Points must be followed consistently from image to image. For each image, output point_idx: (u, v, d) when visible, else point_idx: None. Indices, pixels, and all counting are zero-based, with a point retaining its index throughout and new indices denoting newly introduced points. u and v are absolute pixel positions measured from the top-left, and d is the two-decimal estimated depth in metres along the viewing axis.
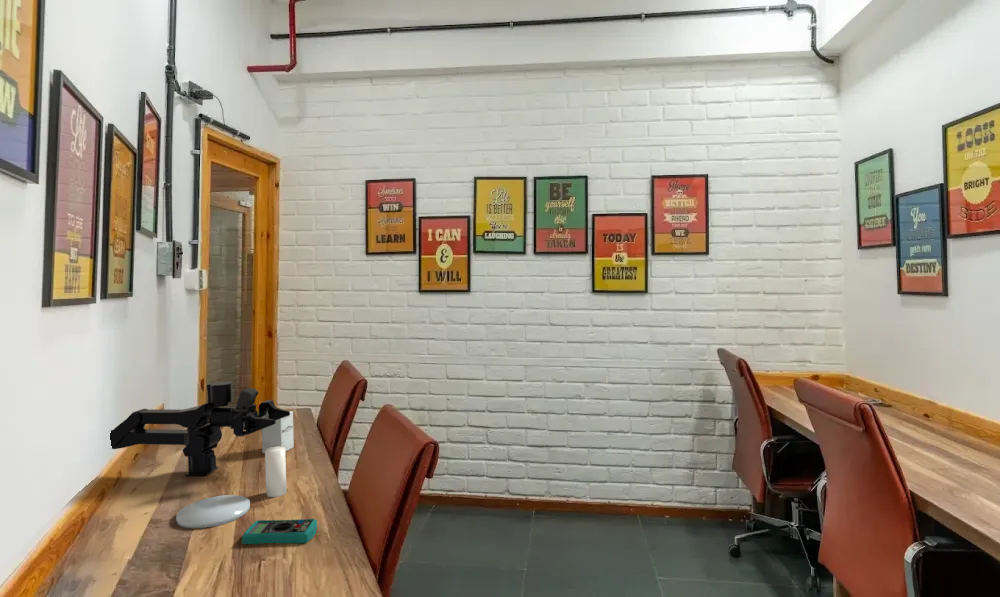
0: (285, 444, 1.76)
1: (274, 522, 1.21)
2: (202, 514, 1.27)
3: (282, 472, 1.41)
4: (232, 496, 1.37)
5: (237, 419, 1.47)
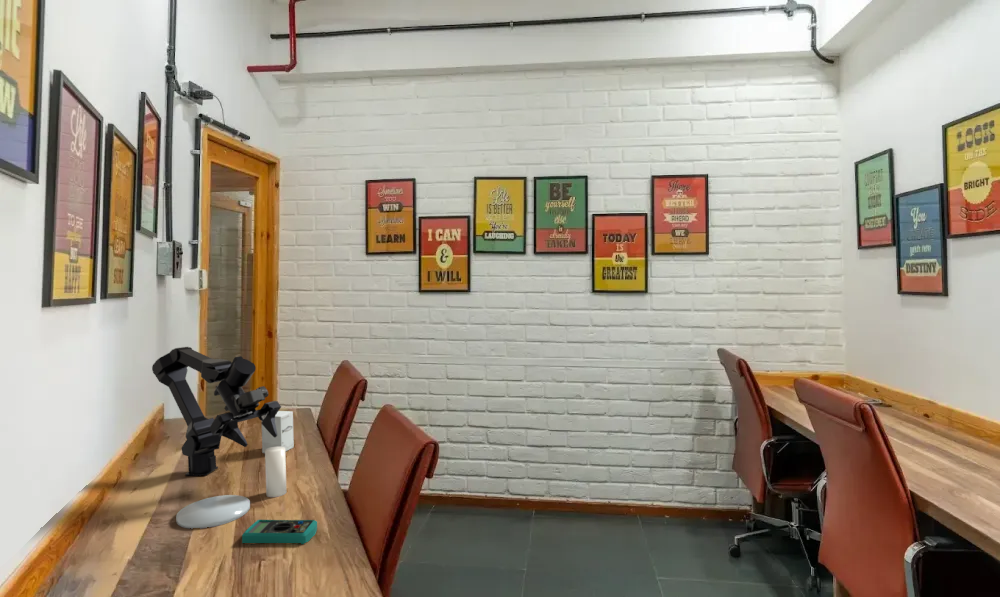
0: (285, 444, 1.76)
1: (275, 522, 1.21)
2: (202, 514, 1.27)
3: (282, 472, 1.41)
4: (232, 496, 1.37)
5: (217, 420, 1.38)
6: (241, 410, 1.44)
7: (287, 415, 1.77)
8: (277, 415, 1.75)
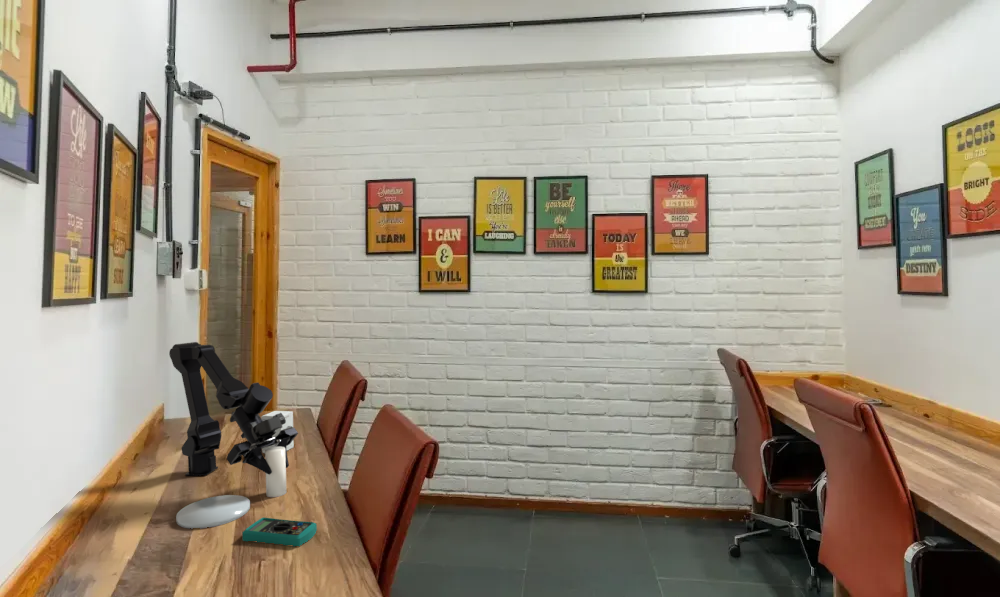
0: None
1: (277, 521, 1.21)
2: (202, 514, 1.27)
3: (282, 472, 1.41)
4: (232, 496, 1.37)
5: (235, 450, 1.35)
6: (258, 438, 1.41)
7: (287, 415, 1.77)
8: None
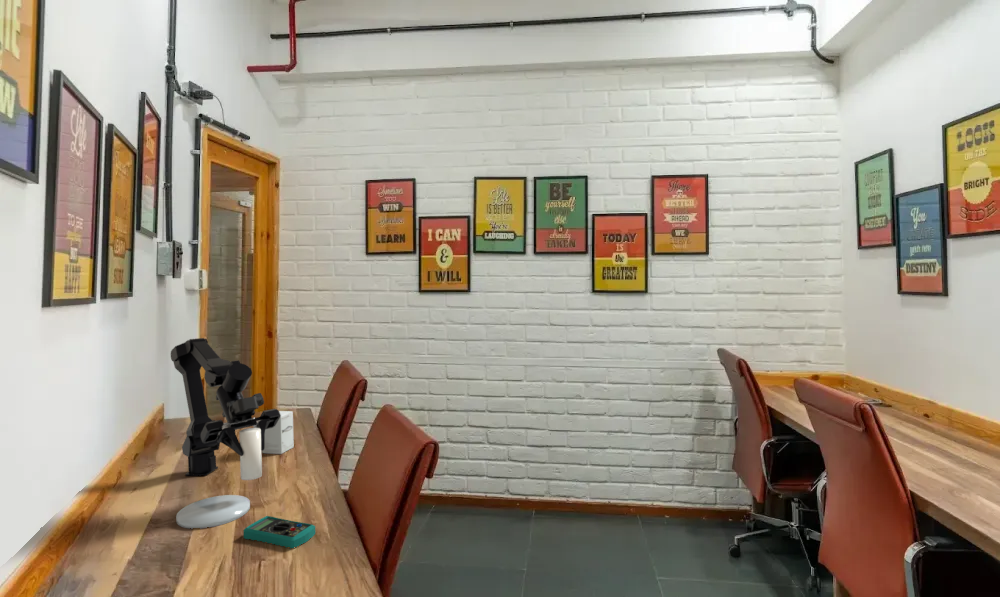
0: (285, 444, 1.76)
1: (279, 521, 1.21)
2: (202, 514, 1.27)
3: (256, 455, 1.35)
4: (232, 496, 1.37)
5: (205, 428, 1.31)
6: (234, 418, 1.36)
7: (287, 415, 1.77)
8: None
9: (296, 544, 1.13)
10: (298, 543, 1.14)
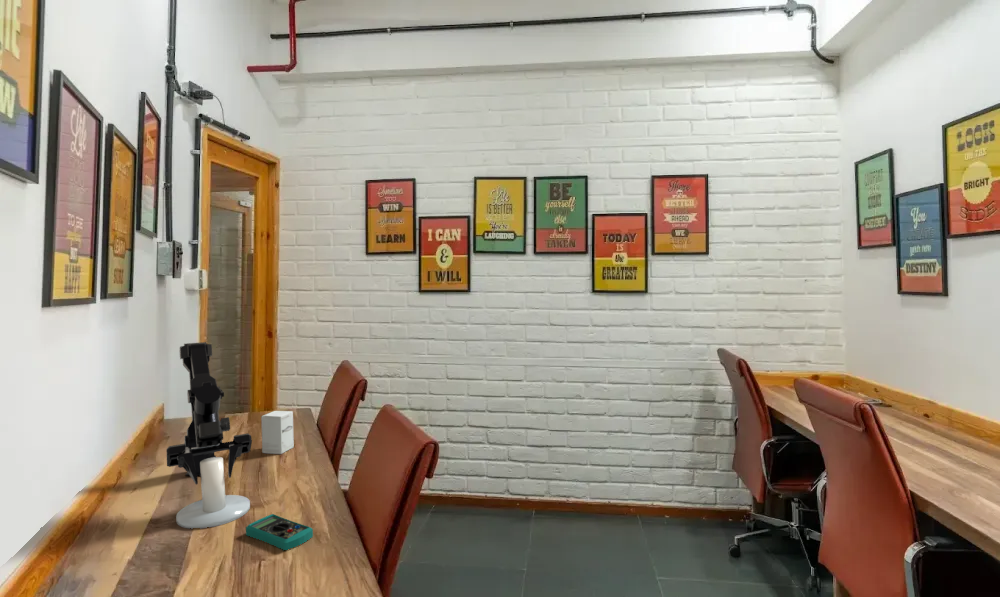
0: (285, 444, 1.76)
1: (281, 520, 1.22)
2: (202, 514, 1.27)
3: (215, 487, 1.28)
4: (232, 496, 1.37)
5: None
6: (200, 442, 1.32)
7: (287, 415, 1.77)
8: (277, 415, 1.75)
9: (289, 546, 1.12)
10: (291, 546, 1.13)
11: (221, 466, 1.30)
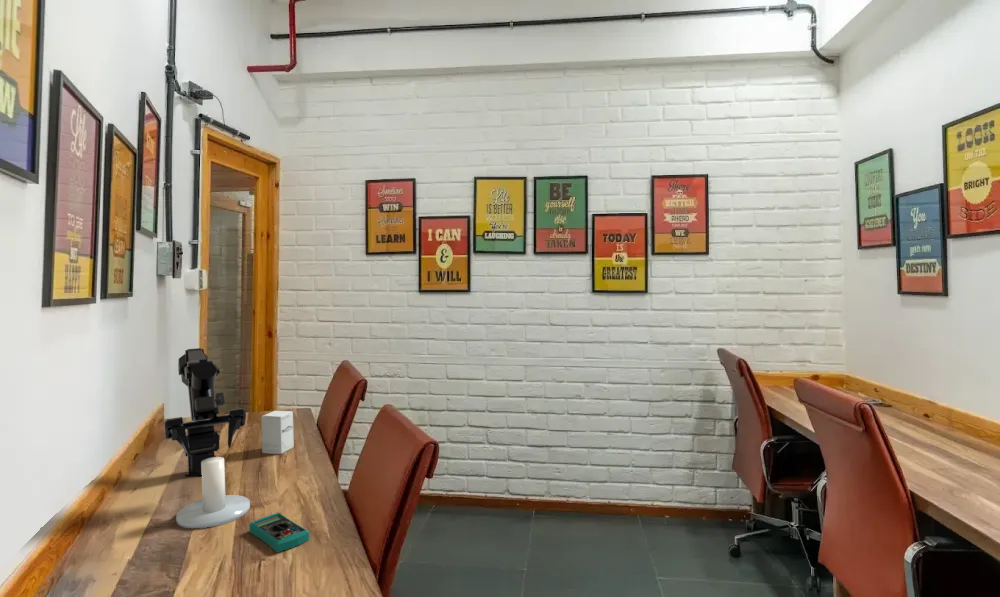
0: (285, 444, 1.76)
1: (283, 520, 1.22)
2: (202, 514, 1.27)
3: (215, 487, 1.28)
4: (232, 496, 1.37)
5: (165, 425, 1.35)
6: (196, 416, 1.39)
7: (287, 415, 1.77)
8: (277, 415, 1.75)
9: (281, 548, 1.12)
10: (283, 547, 1.12)
11: (222, 466, 1.30)
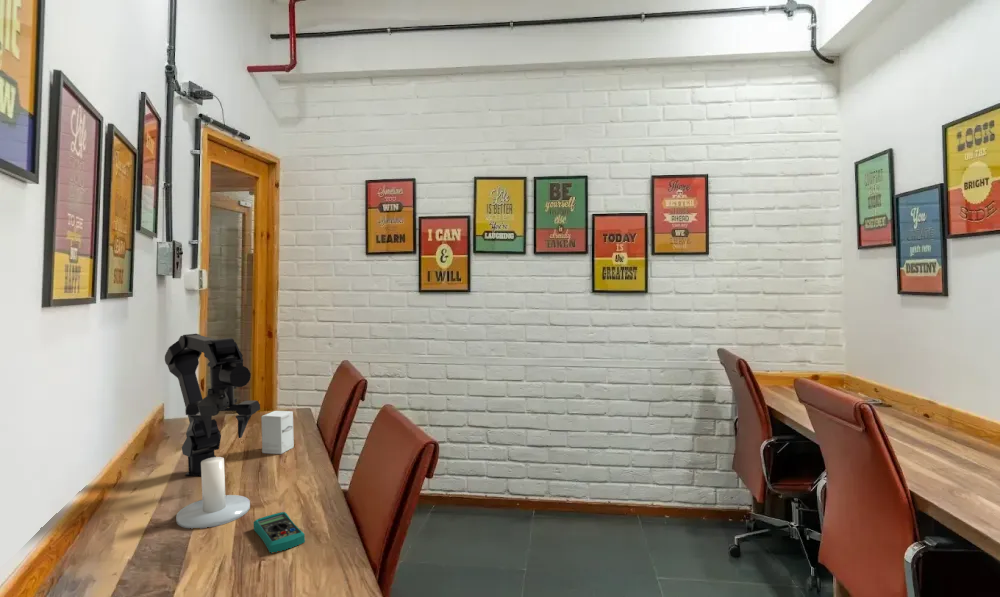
0: (285, 444, 1.76)
1: (285, 520, 1.22)
2: (202, 514, 1.27)
3: (215, 487, 1.28)
4: (232, 496, 1.37)
5: None
6: None
7: (287, 415, 1.77)
8: (277, 415, 1.75)
9: (274, 549, 1.11)
10: (276, 549, 1.12)
11: (222, 466, 1.30)
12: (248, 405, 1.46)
